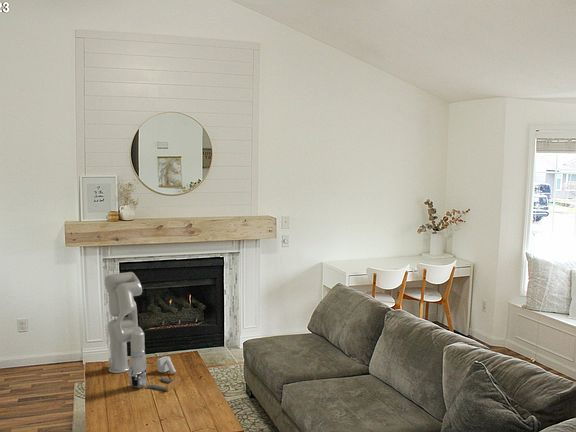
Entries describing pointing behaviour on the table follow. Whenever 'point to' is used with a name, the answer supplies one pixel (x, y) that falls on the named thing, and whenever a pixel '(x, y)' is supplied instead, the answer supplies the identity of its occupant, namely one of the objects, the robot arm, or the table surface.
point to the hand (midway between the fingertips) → (138, 383)
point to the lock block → (140, 380)
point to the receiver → (168, 387)
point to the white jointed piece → (165, 365)
